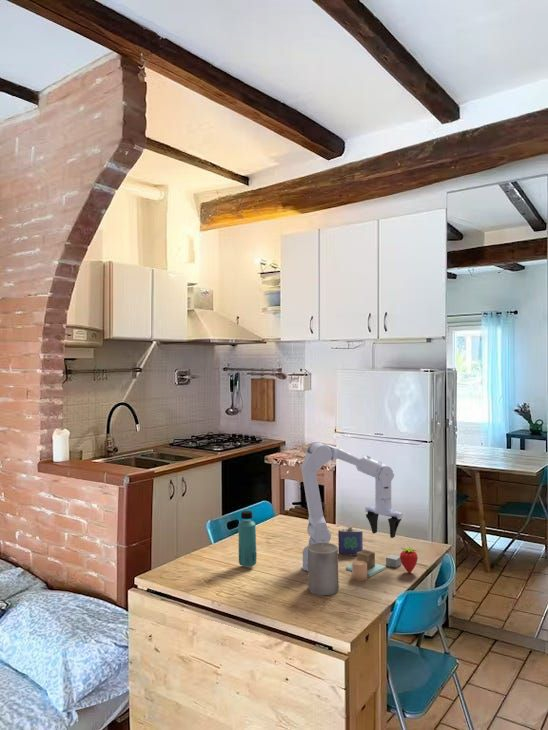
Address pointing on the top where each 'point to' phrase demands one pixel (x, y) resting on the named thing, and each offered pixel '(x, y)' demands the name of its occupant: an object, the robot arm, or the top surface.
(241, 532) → the beverage bottle
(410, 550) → the strawberry
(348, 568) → the coaster
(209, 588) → the top surface
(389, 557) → the grey square block
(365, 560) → the walnut block
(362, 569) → the peach domed cylinder
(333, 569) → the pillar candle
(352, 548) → the flask
